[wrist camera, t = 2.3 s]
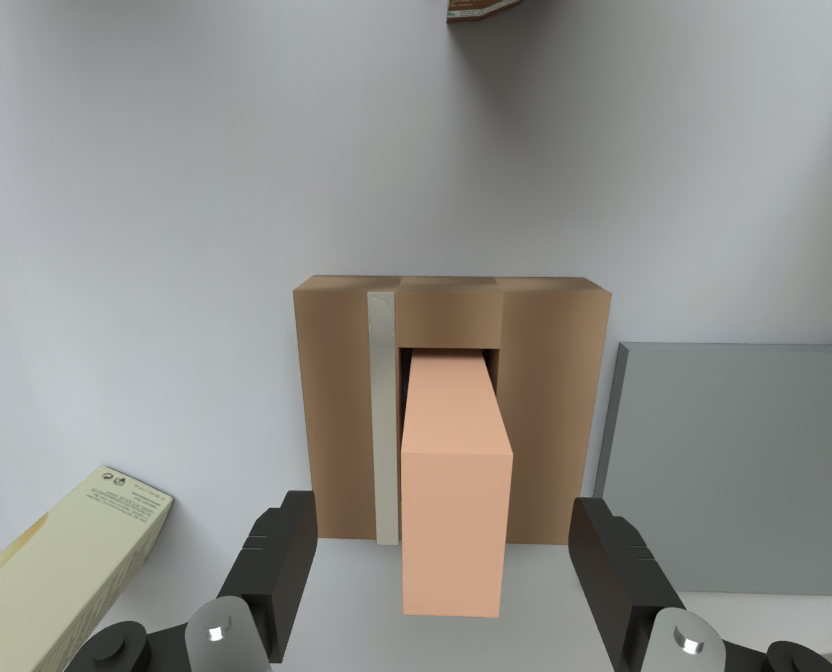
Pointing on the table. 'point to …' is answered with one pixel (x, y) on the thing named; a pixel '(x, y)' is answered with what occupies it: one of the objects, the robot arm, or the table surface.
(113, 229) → the table surface
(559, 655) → the table surface
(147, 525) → the skincare box
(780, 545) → the mat
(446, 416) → the tall peach block
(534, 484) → the brown flat square frame
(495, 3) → the food container
